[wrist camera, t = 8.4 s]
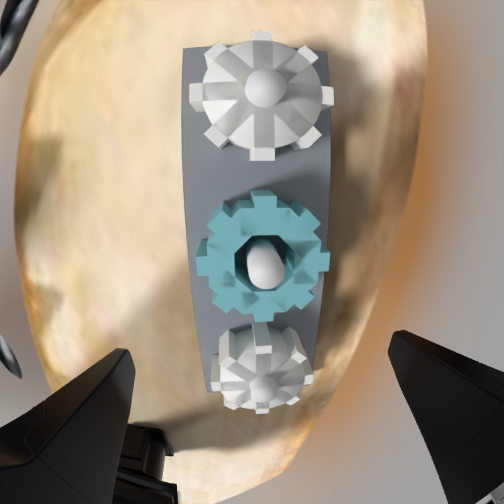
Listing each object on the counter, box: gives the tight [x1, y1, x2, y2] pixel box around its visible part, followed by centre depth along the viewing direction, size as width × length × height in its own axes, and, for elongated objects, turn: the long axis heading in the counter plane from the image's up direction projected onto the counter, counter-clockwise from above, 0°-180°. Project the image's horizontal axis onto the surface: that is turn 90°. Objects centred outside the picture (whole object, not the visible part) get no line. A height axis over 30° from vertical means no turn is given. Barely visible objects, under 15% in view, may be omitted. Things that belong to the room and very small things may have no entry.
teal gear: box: [196, 190, 330, 322], centre depth 16 cm, size 7×7×3 cm
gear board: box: [181, 31, 334, 414], centre depth 16 cm, size 26×9×6 cm, turn 0°
